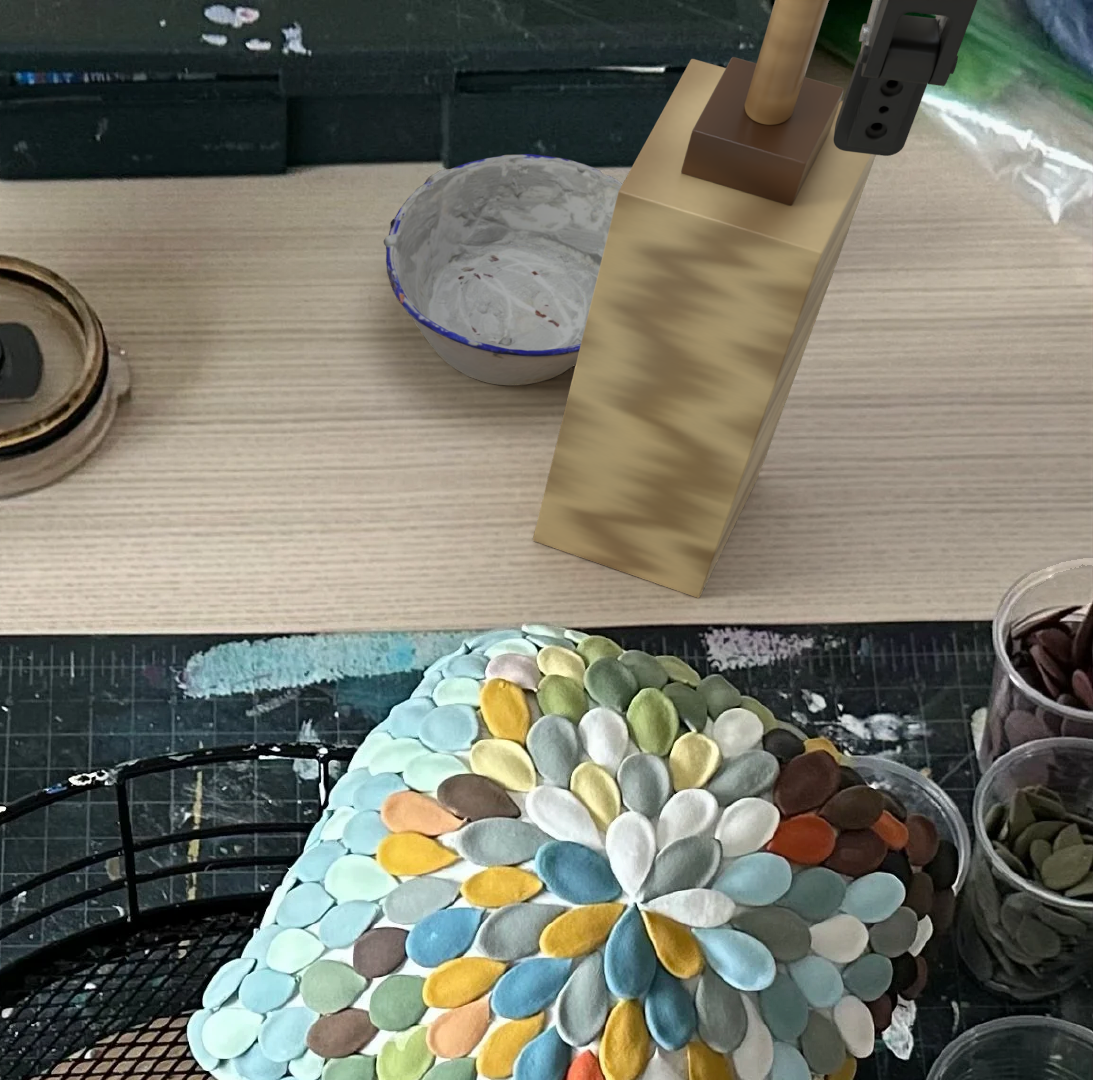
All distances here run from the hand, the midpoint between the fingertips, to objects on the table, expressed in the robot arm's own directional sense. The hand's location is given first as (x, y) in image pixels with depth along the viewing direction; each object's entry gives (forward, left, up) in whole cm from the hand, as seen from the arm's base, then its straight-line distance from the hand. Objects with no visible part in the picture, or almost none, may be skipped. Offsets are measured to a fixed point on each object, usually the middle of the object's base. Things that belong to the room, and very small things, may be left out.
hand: (876, 56), depth 76 cm
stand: (+4, -6, -30) cm, 31 cm away
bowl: (+14, -14, -30) cm, 36 cm away
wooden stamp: (+4, -6, -10) cm, 12 cm away
